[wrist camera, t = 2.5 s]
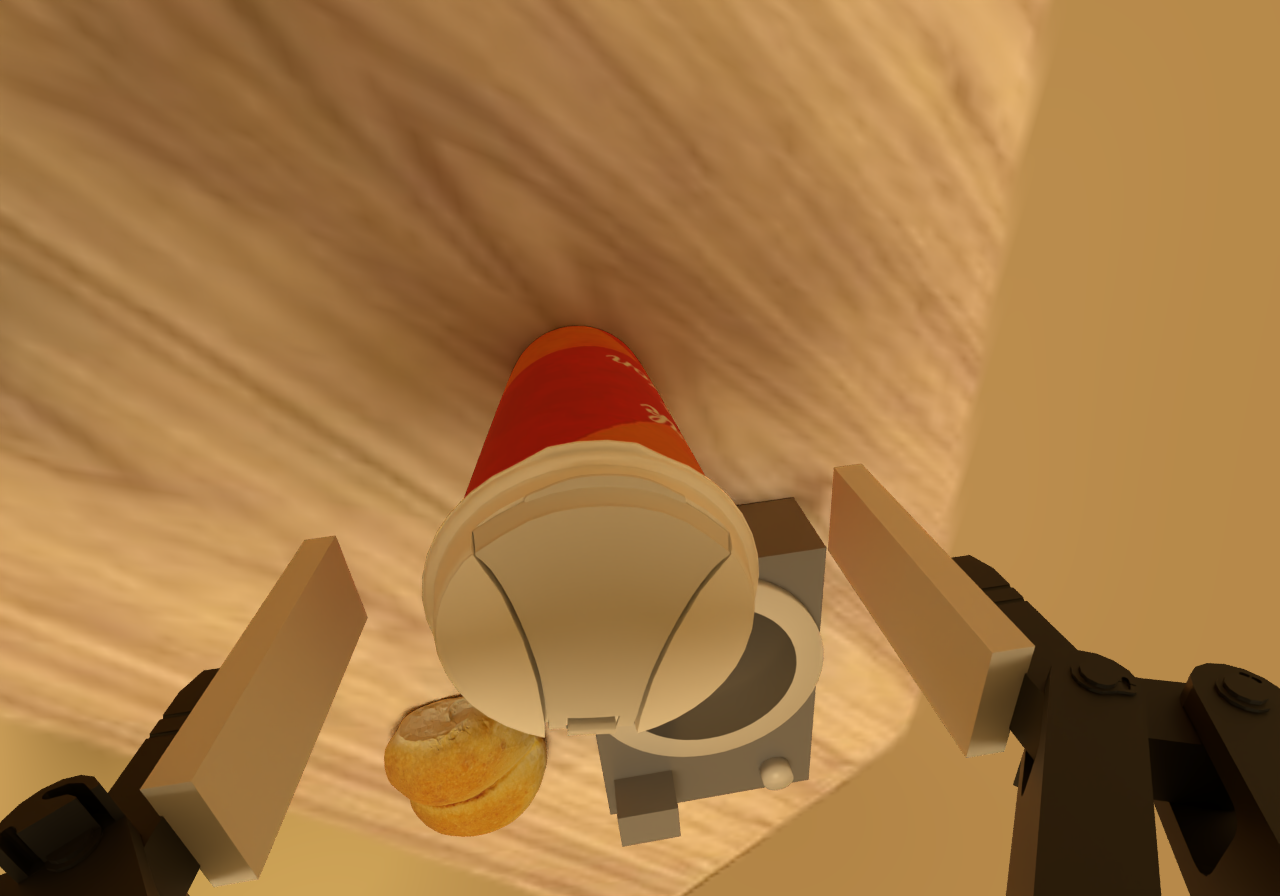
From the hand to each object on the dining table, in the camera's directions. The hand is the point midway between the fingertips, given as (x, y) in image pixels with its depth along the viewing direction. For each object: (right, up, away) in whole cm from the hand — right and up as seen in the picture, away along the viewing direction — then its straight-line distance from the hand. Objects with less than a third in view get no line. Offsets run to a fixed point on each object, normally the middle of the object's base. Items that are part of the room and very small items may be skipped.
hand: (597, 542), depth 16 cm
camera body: (+4, -8, +16) cm, 18 cm away
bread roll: (-9, -14, +18) cm, 25 cm away
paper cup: (-1, +5, +9) cm, 11 cm away
